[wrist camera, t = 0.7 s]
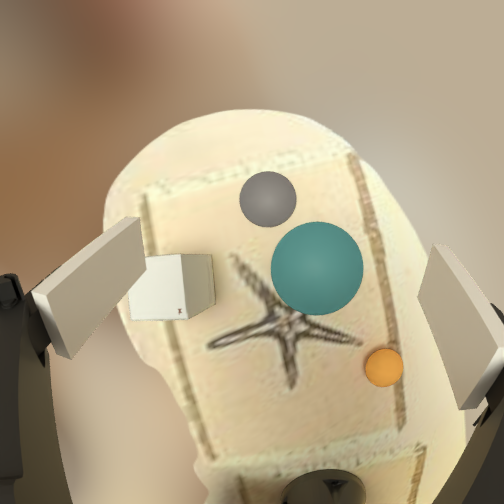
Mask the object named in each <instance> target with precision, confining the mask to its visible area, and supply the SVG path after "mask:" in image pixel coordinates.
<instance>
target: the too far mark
mask: <svg viewBox="0 0 504 504" xmlns="http://www.w3.org/2000/svg"><path fill="white" fill-rule="evenodd" d="M295 205H296V193H295V189H294V187H293V185H292V184H291V182H290V181H289V180H288V179H287V178H286V177H284V176H283V175H281V174H279V173H276V172H269V171H268V172H261V173H258V174H255V175H254V176H252V177H251V178H249V179H248V180H247V181H246V183H245V184H244V186H243V187H242V190H241V193H240V206H241V209H242V212H243V213H244V215H245V216H246V218H247V219H248V220H249V221H251V222H252V223H254V224H256V225H258V226H262V227H274V226H277V225H280V224H282V223H283V222H285V221H286V220H287V219H288V218H289V217H290V216H291V215H292V213H293V211H294V209H295Z"/></svg>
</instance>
